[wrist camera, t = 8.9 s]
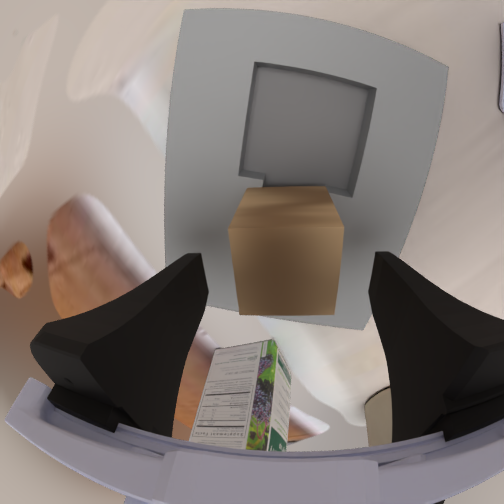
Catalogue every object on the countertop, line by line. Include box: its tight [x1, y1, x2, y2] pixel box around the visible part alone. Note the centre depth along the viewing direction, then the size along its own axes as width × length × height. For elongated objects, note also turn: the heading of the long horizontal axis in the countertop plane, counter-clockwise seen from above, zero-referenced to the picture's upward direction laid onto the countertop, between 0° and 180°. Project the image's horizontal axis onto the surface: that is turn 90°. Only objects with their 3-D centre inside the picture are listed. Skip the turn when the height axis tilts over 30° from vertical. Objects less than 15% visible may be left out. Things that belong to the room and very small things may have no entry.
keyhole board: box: [164, 8, 449, 330], centre depth 14 cm, size 14×18×2 cm
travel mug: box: [365, 388, 445, 504], centre depth 18 cm, size 8×8×18 cm
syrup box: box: [189, 339, 291, 452], centre depth 18 cm, size 6×6×14 cm
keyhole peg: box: [228, 186, 344, 316], centre depth 13 cm, size 4×4×6 cm
